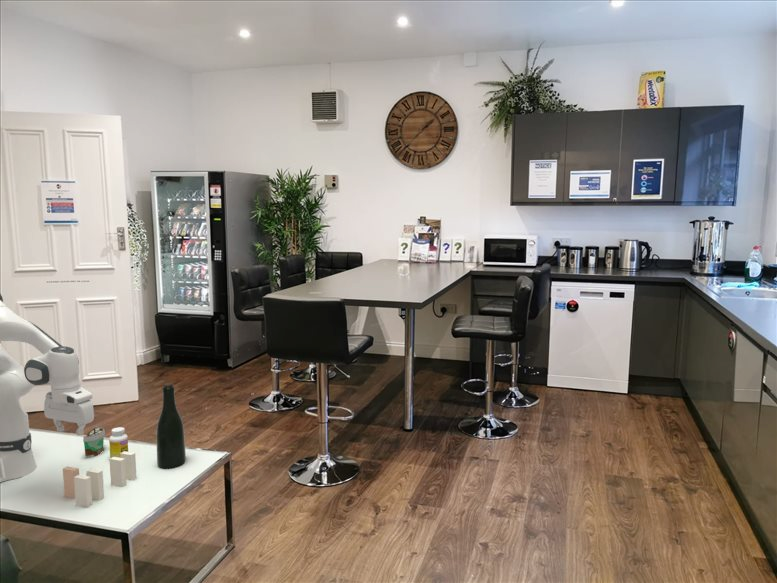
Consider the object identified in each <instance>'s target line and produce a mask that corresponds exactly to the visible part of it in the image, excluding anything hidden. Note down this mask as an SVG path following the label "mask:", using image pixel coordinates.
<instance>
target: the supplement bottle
mask: <svg viewBox="0 0 777 583" xmlns="http://www.w3.org/2000/svg"><path fill="white" fill-rule="evenodd" d="M125 431H126V430H125V427H122V426H120V427H114V428H112V429H111V434H112V435H110V436H109V438H108V440H109V442H108V443H109V459H110V458H112V457H118V458H120V453H122V452H124V451H126V452H129V437H128V435H127V433H125Z"/></svg>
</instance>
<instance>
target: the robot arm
mask: <svg viewBox="0 0 777 583" xmlns="http://www.w3.org/2000/svg"><path fill="white" fill-rule="evenodd" d="M1 342H20V343H25V344H28V345H31V346H32V347H34V348H35V349H37V351H39V352H40V353H41V354H42V355H39V356H36V357H34V358H31V359H29V360H28V361H26V362H25V365H24V366H23V365H22V364H20V363H19V362H18V361H17V360H15V359H14V358H13V357H12V356H11V355H10V354H9V353H8V352H7V350H6V348H5V347H4V346H3V344H2V343H1ZM79 375H80V362H79V358H78V355H77V353H76V351H75V349H74V348H72V347H70V346H63V345H62V344H61V343H59V342H57V341H56V340H55V339H54V338H53V337H51V336H50V335H49V334H48V333H47V332H45V331H44V330H43V329H41V328H40V327H39V326H38V325H36V324H35V323H33V322H31V321H29V320H26V319H24V318H23V317H21V316H19V315H18V314H17V313H15V312H14V311H13V310H12V309H11V308H10V307H8V306H7V305H6V304H5V303H4V299H3V295H2V294H1V293H0V483H2V482H5V481H11V480H16V479H20V478H22V477H26V476H28V475H30V474H32V473H34V472H35V471H36V470H37V467H38V466H37V464H36V461H35V458H34V454H33V450H32V433H31V432H30V423H29V421H30V420H29V414H28V412H26V411H25V410H23V408H22V406H21V403H20V399H21V397H24V396H25V395H27V394H29V392H31V391H32V389H33V388H34V387H35V386H41V385H46V384H50V390H51V391H48V392H46V394H45V399H44V403H43V404H44V405H43V407H44V408H43V410H44V411H43V413H44V416H45V418H46V419H49V420H53V421H52V422H53V424H54V425H55V427H56V431H57V432H61V433H62V432H63V431H65V425H64V424H63V423H62V421H63V422H66V423H67V422H68V423H75V424H77V426H78V428H77V429H76V430H75V432H76V433H75V434H76V435H77V436H82V435H84V434H85V432H84V431H85V427H86V425H88V424H90V423H92V422H93V421H94V420H95V411H94V404H93V401H92V399H93V393H92V392H90V391H89V390H87V389H85V388H84V387H82V385H81V384H82V383H81V381H80V377H79Z"/></svg>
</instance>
